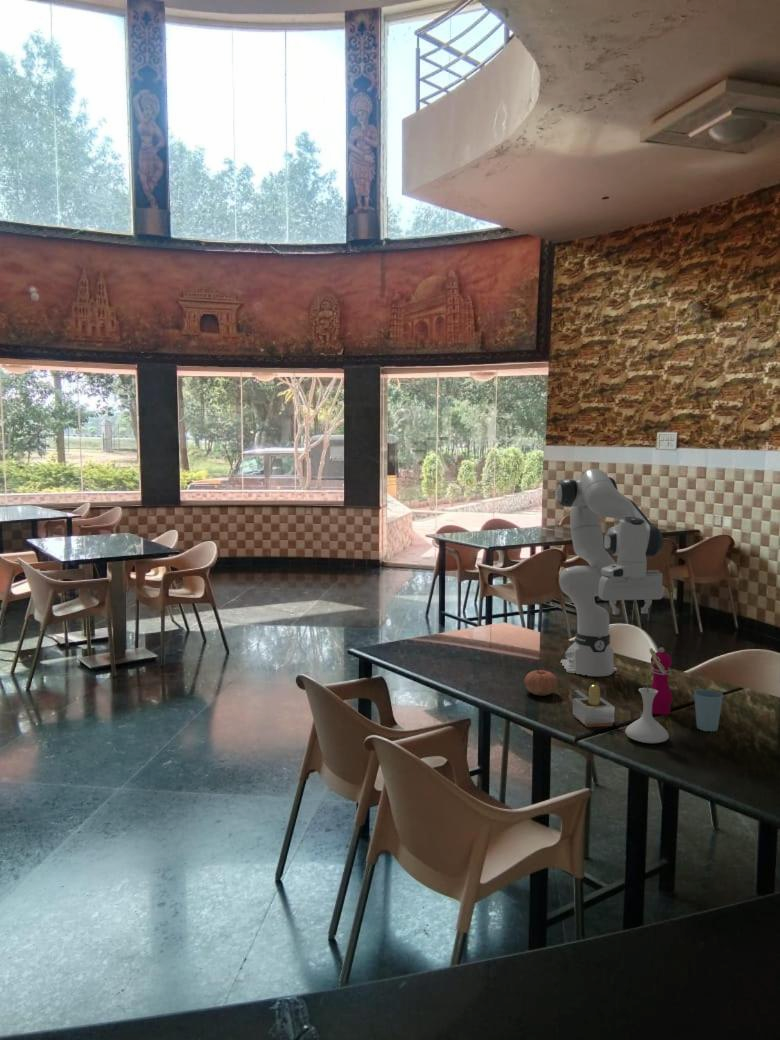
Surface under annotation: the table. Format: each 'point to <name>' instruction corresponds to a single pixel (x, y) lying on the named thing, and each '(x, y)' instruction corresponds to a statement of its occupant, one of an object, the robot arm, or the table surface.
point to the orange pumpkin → (541, 682)
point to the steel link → (592, 709)
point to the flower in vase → (648, 714)
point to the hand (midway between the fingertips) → (630, 613)
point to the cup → (707, 709)
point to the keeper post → (594, 701)
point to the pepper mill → (661, 684)
